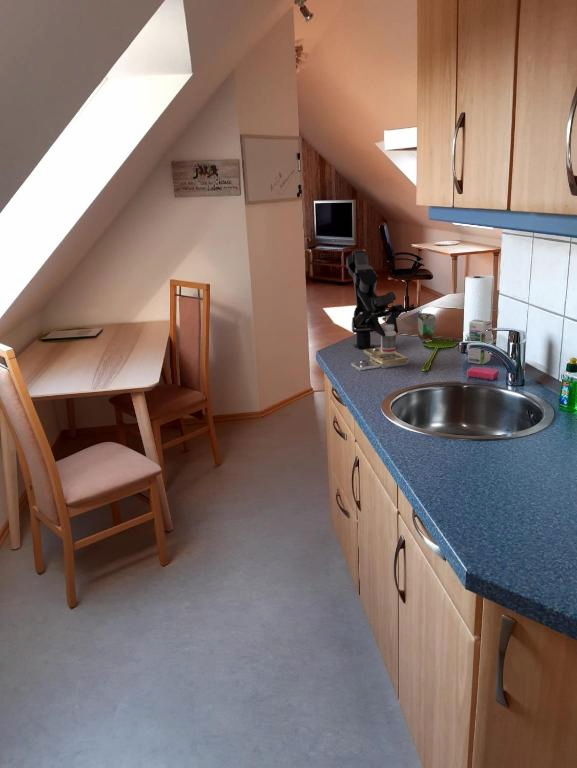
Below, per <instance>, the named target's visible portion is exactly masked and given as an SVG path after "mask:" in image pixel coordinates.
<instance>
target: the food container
mask: <svg viewBox="0 0 577 768" xmlns="http://www.w3.org/2000/svg"><path fill="white" fill-rule="evenodd" d="M435 323H437V318H436V315H435V314H432V313H427V312H425V313H424V312H419V313H417V338H418V340H420V342H421V343H422V344H423V345H424V344H426V343H425V342H426V341H429V340H433V341H434V334H435V333H434V332H435Z"/></svg>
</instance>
